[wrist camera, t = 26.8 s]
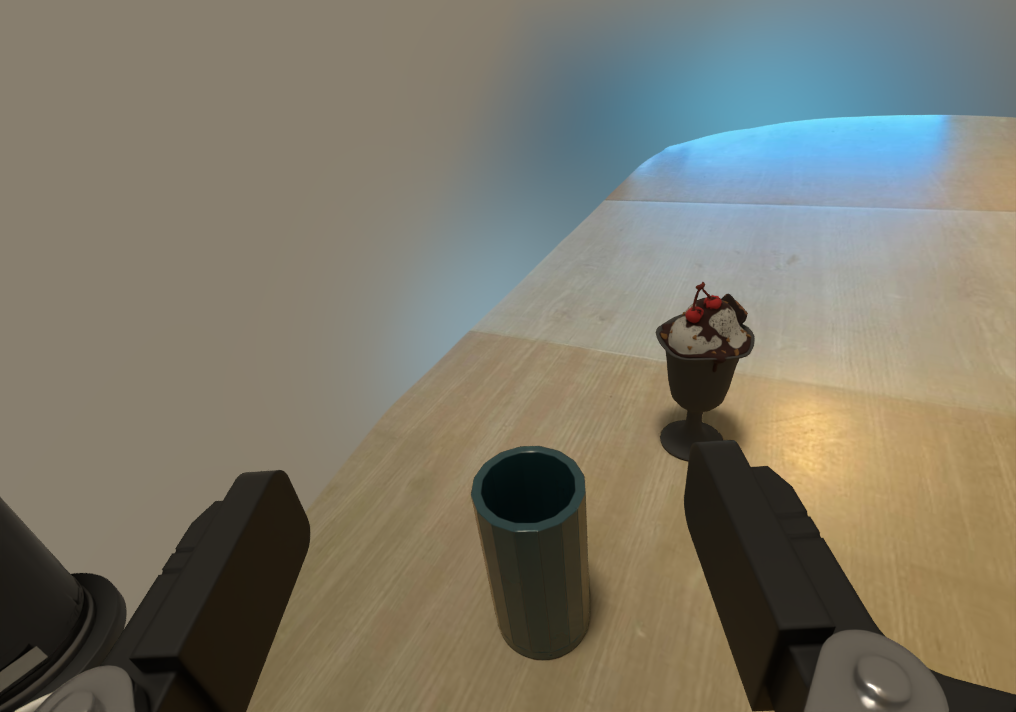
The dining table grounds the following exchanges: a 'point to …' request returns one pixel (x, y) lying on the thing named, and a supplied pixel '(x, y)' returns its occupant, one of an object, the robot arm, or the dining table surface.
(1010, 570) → the dining table surface
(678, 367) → the sundae
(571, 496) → the cup
